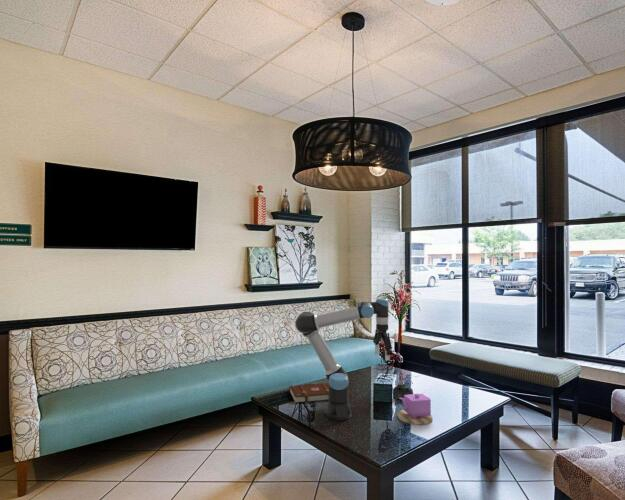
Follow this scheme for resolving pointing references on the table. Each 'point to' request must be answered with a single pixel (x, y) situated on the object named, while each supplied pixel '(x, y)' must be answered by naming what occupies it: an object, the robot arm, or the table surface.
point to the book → (310, 392)
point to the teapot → (417, 405)
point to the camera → (401, 391)
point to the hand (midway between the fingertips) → (382, 357)
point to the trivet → (409, 420)
